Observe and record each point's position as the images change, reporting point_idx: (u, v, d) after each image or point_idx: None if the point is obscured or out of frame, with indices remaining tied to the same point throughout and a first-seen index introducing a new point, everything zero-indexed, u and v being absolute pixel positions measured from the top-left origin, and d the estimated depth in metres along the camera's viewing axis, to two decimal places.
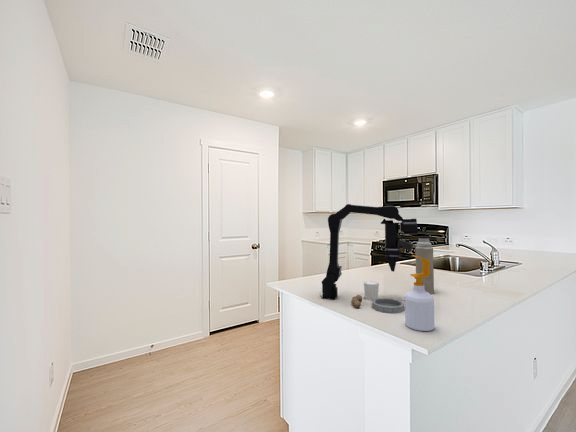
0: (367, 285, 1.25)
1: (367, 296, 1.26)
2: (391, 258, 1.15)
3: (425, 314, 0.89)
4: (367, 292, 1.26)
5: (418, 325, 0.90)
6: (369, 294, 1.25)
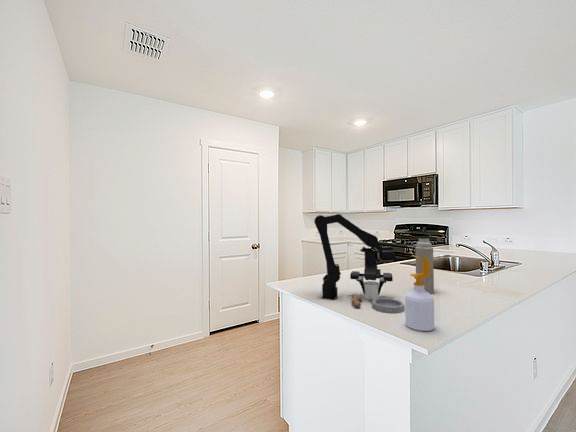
0: (367, 285, 1.25)
1: (367, 296, 1.26)
2: None
3: (425, 314, 0.89)
4: (367, 292, 1.26)
5: (418, 325, 0.90)
6: (369, 294, 1.25)
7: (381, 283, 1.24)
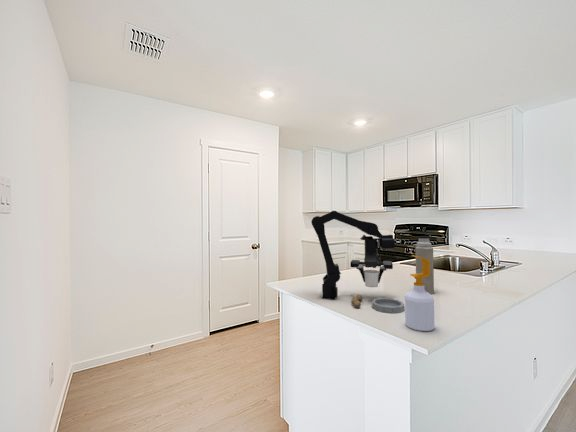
0: (367, 273, 1.25)
1: (367, 284, 1.26)
2: None
3: (425, 314, 0.89)
4: (367, 280, 1.26)
5: (418, 325, 0.90)
6: (369, 282, 1.25)
7: (381, 271, 1.24)
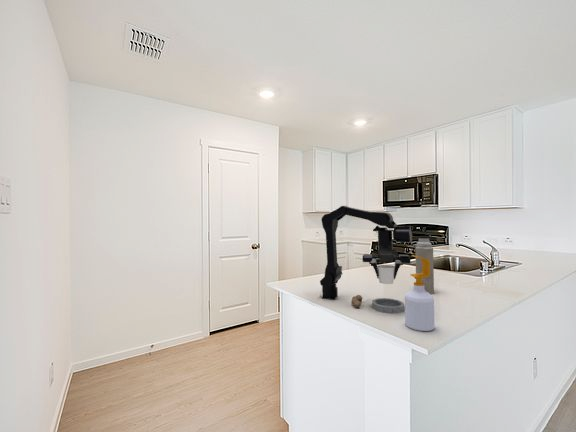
0: (382, 268, 1.12)
1: (382, 280, 1.13)
2: None
3: (425, 314, 0.89)
4: (382, 276, 1.13)
5: (418, 325, 0.90)
6: (384, 278, 1.12)
7: (397, 266, 1.11)
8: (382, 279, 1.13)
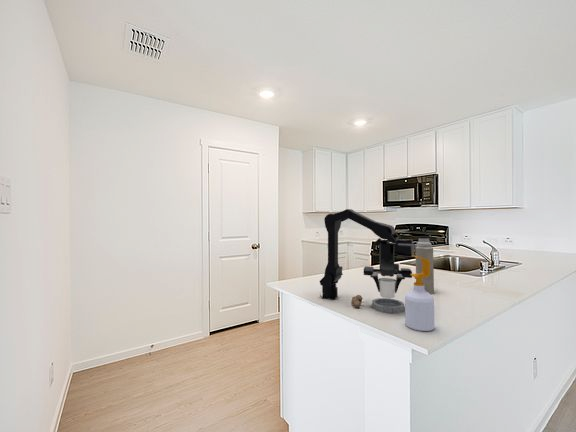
0: (383, 282, 1.11)
1: (383, 294, 1.12)
2: None
3: (425, 314, 0.89)
4: (383, 290, 1.11)
5: (418, 325, 0.90)
6: (385, 292, 1.11)
7: (399, 280, 1.10)
8: (383, 293, 1.11)
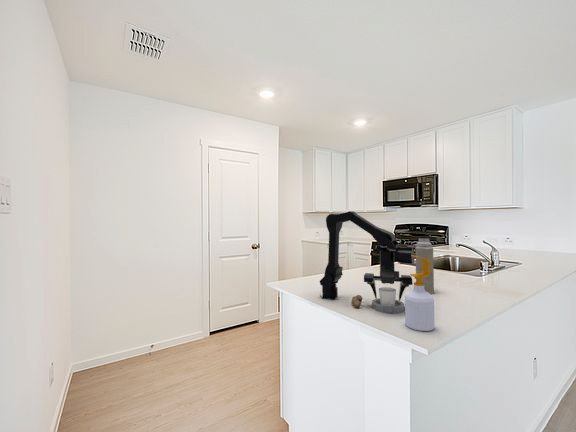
0: (383, 292, 1.11)
1: (383, 304, 1.11)
2: None
3: (425, 314, 0.89)
4: (383, 300, 1.11)
5: (418, 325, 0.90)
6: (385, 302, 1.11)
7: (403, 287, 1.09)
8: (383, 303, 1.11)
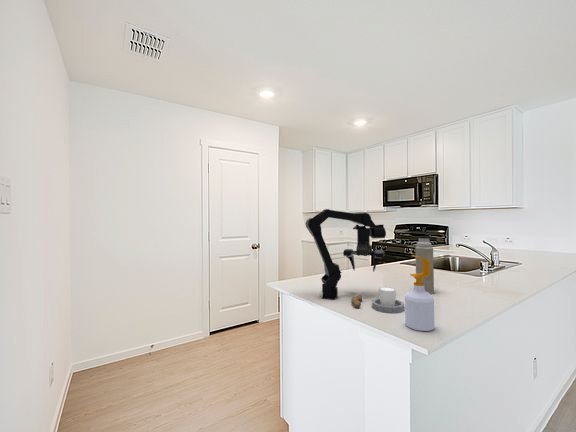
0: (383, 292, 1.11)
1: (383, 304, 1.11)
2: None
3: (425, 314, 0.89)
4: (383, 300, 1.11)
5: (418, 325, 0.90)
6: (386, 302, 1.11)
7: (376, 259, 1.27)
8: (383, 303, 1.11)
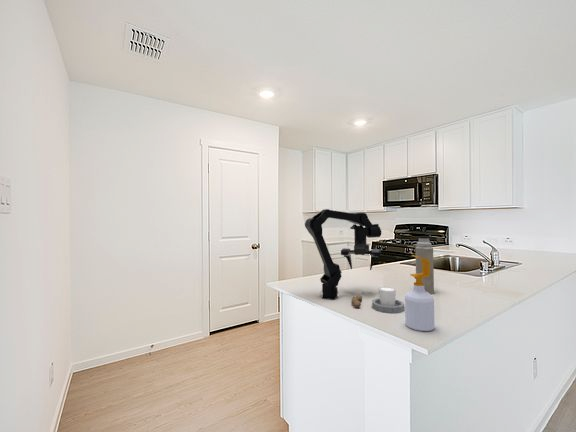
0: (383, 292, 1.11)
1: (383, 304, 1.11)
2: None
3: (425, 314, 0.89)
4: (383, 300, 1.11)
5: (418, 325, 0.90)
6: (385, 302, 1.11)
7: (373, 258, 1.30)
8: (383, 303, 1.11)
